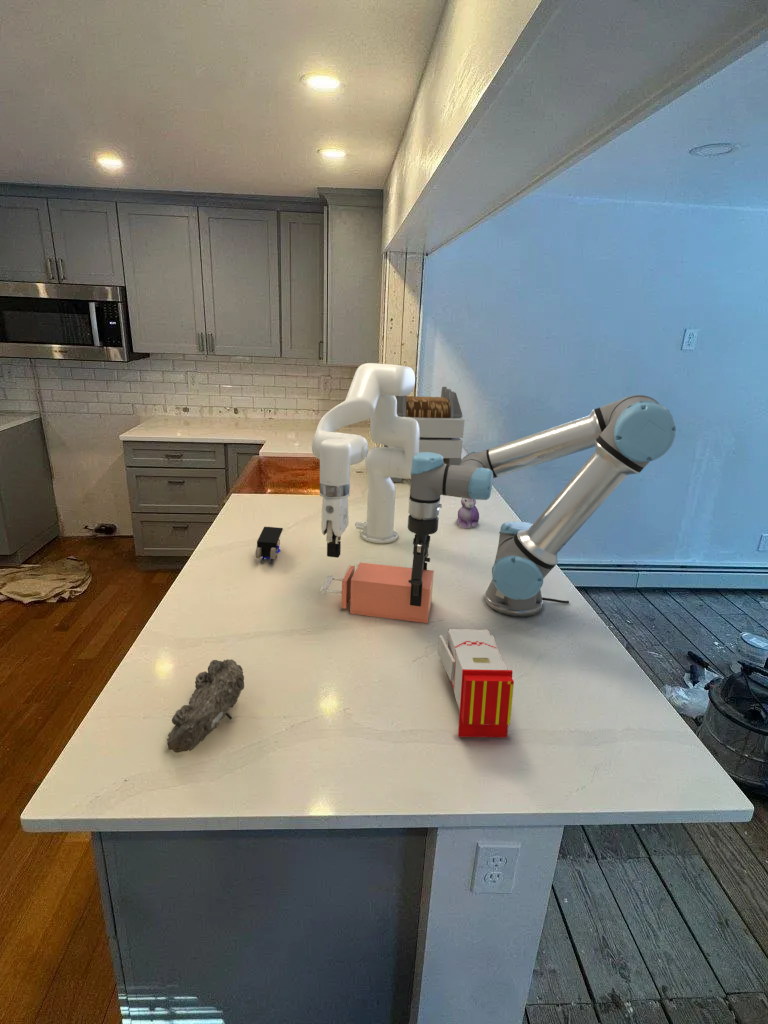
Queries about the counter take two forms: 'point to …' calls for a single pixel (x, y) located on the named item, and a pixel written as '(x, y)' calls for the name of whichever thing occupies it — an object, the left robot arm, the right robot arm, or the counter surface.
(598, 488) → the right robot arm
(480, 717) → the toy
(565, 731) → the counter surface
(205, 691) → the fossil
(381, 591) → the cabinet
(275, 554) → the figurine character
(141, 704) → the counter surface
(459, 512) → the figurine
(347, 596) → the drawer
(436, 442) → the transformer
